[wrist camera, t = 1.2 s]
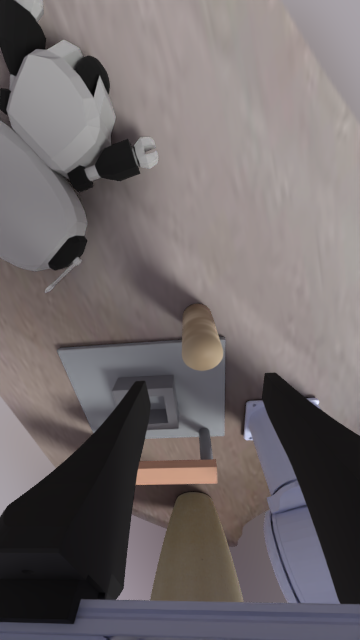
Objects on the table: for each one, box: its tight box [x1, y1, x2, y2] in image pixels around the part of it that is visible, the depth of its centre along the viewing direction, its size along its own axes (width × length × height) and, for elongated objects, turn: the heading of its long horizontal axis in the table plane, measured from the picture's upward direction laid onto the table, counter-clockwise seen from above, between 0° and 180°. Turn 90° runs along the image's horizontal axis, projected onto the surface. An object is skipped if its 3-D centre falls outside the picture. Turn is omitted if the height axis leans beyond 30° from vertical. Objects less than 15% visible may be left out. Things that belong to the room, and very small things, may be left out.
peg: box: [182, 304, 223, 371], centre depth 18 cm, size 3×3×7 cm
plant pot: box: [150, 492, 244, 602], centre depth 31 cm, size 15×15×16 cm
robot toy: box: [0, 0, 159, 293], centre depth 14 cm, size 12×4×15 cm
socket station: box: [57, 337, 225, 485], centre depth 23 cm, size 20×17×7 cm
